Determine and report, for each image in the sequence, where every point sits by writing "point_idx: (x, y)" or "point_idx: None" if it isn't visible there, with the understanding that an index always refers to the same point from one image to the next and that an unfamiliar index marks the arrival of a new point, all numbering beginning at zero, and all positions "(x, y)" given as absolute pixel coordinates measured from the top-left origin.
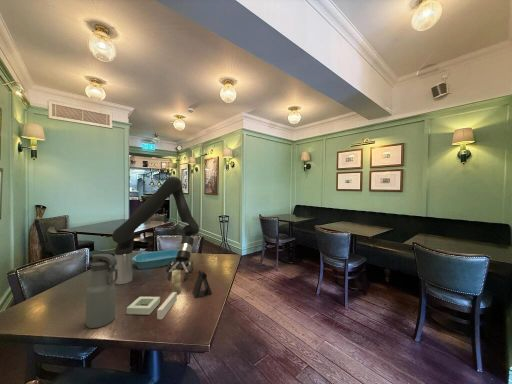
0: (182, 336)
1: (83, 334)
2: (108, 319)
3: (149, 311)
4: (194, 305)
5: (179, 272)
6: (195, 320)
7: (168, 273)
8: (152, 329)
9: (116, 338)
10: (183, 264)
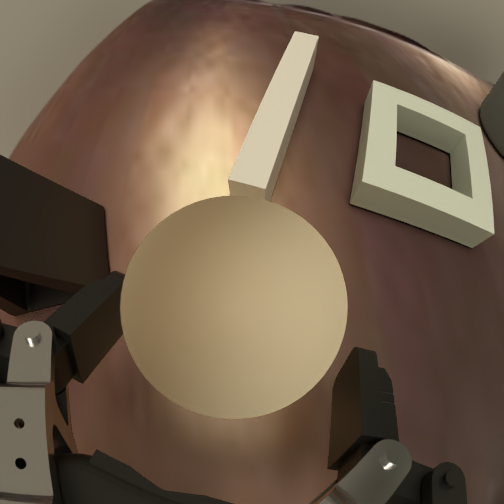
0: (206, 8)
1: None
2: (486, 98)
3: (368, 94)
4: (128, 133)
5: (156, 237)
6: (153, 48)
7: (398, 438)
8: None
9: (404, 43)
10: (18, 494)
